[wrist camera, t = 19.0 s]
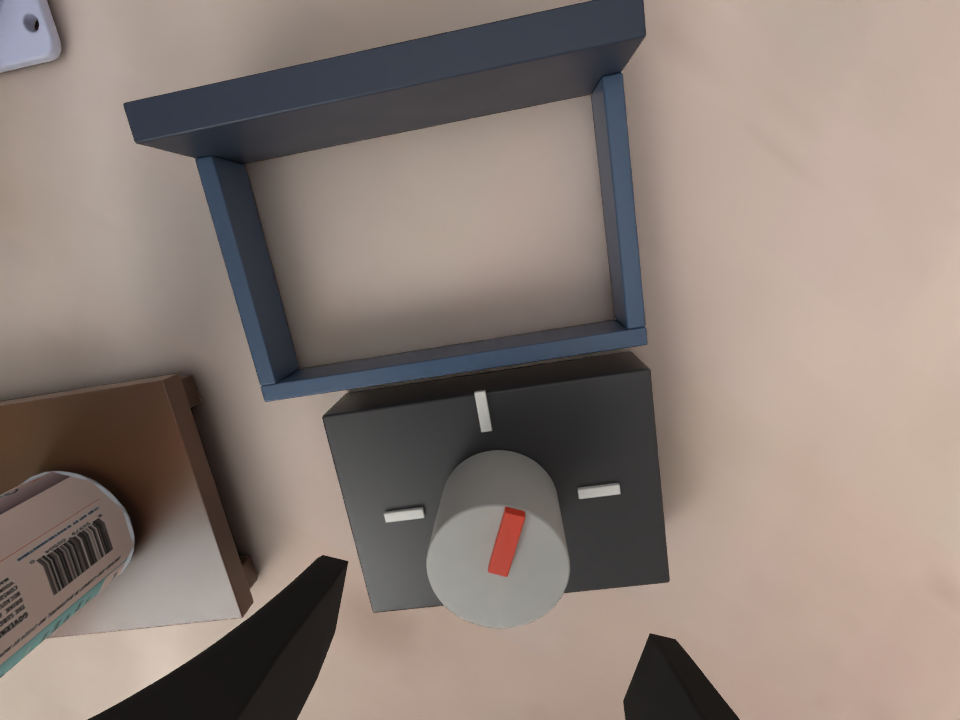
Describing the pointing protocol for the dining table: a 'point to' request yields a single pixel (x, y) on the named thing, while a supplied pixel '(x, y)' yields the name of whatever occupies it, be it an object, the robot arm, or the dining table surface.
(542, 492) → the dial
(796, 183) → the dining table surface
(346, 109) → the bin
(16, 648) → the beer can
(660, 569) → the panel
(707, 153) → the dining table surface
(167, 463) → the square wooden board
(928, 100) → the dining table surface
